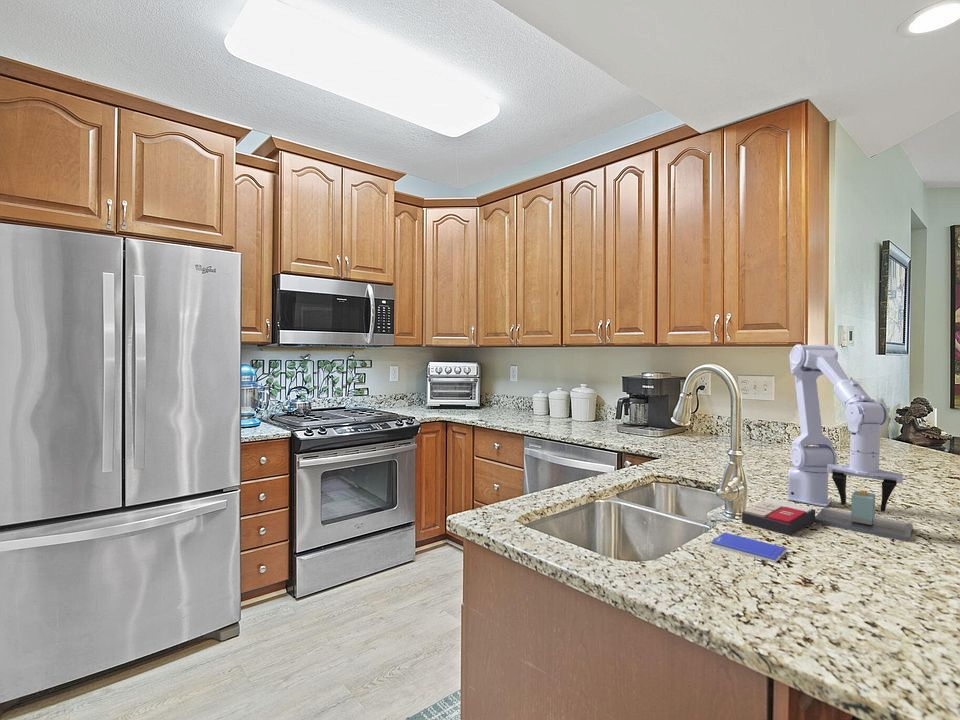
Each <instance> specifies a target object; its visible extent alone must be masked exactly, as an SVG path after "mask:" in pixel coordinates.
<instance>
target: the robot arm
mask: <svg viewBox="0 0 960 720" xmlns="http://www.w3.org/2000/svg"><path fill="white" fill-rule="evenodd" d="M788 356H789V367H790V373H791V375H792V376H794V384H795V393H796V401H797V409H798V420H799V427H800V435H799V436H797V437H796V438H795V439H793V440H792V441H791V450H790V461H791V463H792V464H793V466H794V467H793V466H791V467H790V468H789V469H788V474H787V498H786V500H787V501H793V502H798V503H802V504H809V505H814V506H821V507H826V508H828V506H829V505H830V504H831V503H832V501H833V500H832V499H831V498H829V474H832V475H831V478H832V480H833V482H834V483H833V484H834V485H835V487H836V488H837V492H838V494H839V497H840V504H841V505H846V504H847V490H846V489H847V476H851V477H859V478H864V479H865V478H866V479H872V480H879V481H882V482H881V504H880V512H883V513H885V512H886V508H887V503H888V501H889V499H890V495H891V494H892V492H893V491H894V489H895V488H896V486H897V484H902V485H903V483H904V474H903V473H899V472H892V471H887V470H882V469H880V451H881V450H880V449H881V426H883V425H884V424H886V422H887V419H888V411H887V408H886V406H885V405H884V403H883V402H881V401H879V400H875V399H874V398H871V397H870V396H869V395H868V393H867V392H866V391H865V390H864V389H863V386H861V384H860V383H859V381H857V380H855V379H850V378H849V377H848V375H847V374H846V373H845V371H844V369H843V367H842V366H841V364H840V363H839V361H838V360H839V359H838V357H839V353H838V351H837V350H836V348H835V347H834V346H833V345H832V344H798V343H797V344H795V345H793V347H792V349H791V351H790V353H789V355H788ZM823 375H825V377H826V378H827V379H828V380H829V381H830V382H831V384H832V385H833V386H834V387H833V394H834V395H835V396H836V398H837V399H838V401H839V402H840V403H841V405H842V406H843V407H844V409H845V411H844V418H845V420H846V422H847V429H848V432H850V437H849V438H850V439H849V440H850V441H849V465H843V464H837V462H838V456H837V453H836V451H835V448H834V445H833V444H834V443H833V441H832V440H831V439H829V438H828V437H827V436H825V435H824V433H823V426H822V419H821V417H822V416H821V409H820V408H821V407H820V402H819V401H820V399H819V394H818V393H819V392H818V383H817V379H818V378H819V377H820V376H823Z"/></svg>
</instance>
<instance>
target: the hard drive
mask: <svg viewBox="0 0 960 720" xmlns="http://www.w3.org/2000/svg"><path fill="white" fill-rule="evenodd" d="M710 546H711V547H715V548H719V549H722V550H726V551H730V552H732V553H733V552H734V553H738V554H740V555H744V556H748V557H751V558H752V557H753V558H756V559H759V560H763V561H766V562H770V563H774V564H776V563H777V562H778V561H779V560H780V559H781V558H782V557H783V556H784V555H785V554H786V553H787V550H788V549H787V547H785V546H780V545H776V544H772V543H768V542H764V541H762V540H761V541H760V540H756V539H752V538H749V537H744V536H742V535H741V536H740V535H736V534H733V533H729V532H725V531H724V532H723V533H721V534H720V535H718V536H716V537H715V538H714V539H713V540H711V542H710Z"/></svg>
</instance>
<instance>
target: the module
mask: <svg viewBox="0 0 960 720" xmlns="http://www.w3.org/2000/svg"><path fill="white" fill-rule="evenodd" d="M850 512H851V521H853V522H859V523H864V524H869V525H872V524H873V517H874V516H875V517H876V493H874V492H868V491H867V490H863V489H861V490H860V491H859V490H854V492H853V493H852V494H851V510H850Z"/></svg>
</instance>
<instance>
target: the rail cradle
mask: <svg viewBox="0 0 960 720" xmlns="http://www.w3.org/2000/svg"><path fill="white" fill-rule="evenodd" d="M815 524H818V525H822V526H823V525H825V526H828V527H834V528H837V529H838V528H839V529H845V530H847V531H854V532H858V533H863V534H868V535H872V534H873V536H877V535H878V537H884V538H887V539H894V540H898V541H902V542H909V543H910V542H911V538H912V534H913V529H914V524H912V523H907V522H906V521H902V520H896V519H892V518H891V519H890V518H885V517H879V516H876V515H875V516H874V517H873V524H872V525H869V524H864V523H859V522H853V521H851V511H847V510H843V509H842V510H841V509H835V508H830V507H825V506H823V507H822V509H821V510H820V511H819V512H818V513H817V515H815Z"/></svg>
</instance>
